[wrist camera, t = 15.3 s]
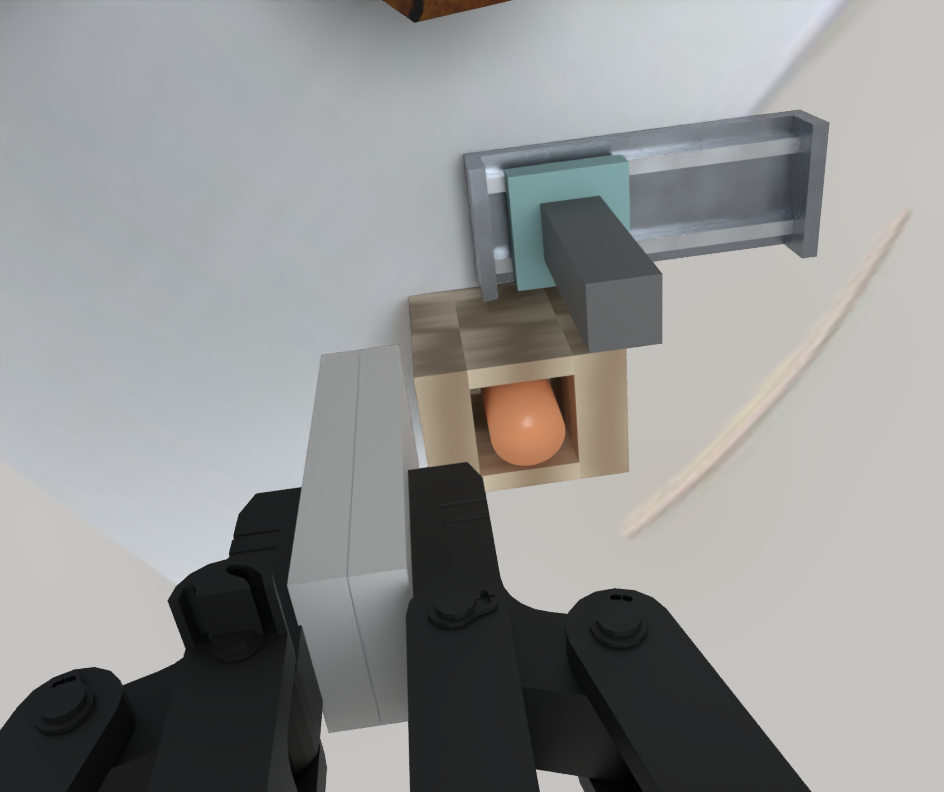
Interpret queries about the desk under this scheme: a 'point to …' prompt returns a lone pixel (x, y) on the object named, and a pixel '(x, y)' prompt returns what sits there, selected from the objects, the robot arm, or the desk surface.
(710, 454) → the desk surface
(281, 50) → the desk surface
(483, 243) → the rail track
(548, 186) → the carriage
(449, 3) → the mug
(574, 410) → the wooden box
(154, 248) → the desk surface
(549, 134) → the desk surface
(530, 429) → the orange cylinder
